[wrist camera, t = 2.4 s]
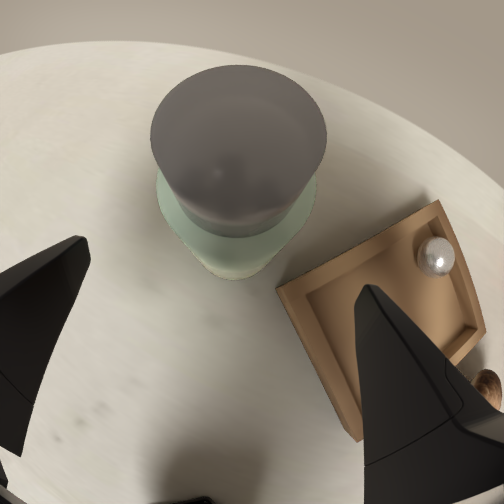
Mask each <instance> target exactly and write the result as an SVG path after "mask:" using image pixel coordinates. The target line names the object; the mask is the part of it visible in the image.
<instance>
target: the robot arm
mask: <svg viewBox="0 0 504 504" xmlns="http://www.w3.org/2000/svg"><path fill="white" fill-rule="evenodd" d="M90 261H91V257H90V252H89V247H88V242H87V239H86V238H85V237H83V236H77V235H75V236H72V237H70V238H68V239H66V240H64V241H62V242H60V243H57V244H55V245H53V246H51V247H49V248H47V249H45V250H43V251H41V252H39V253H37V254H35V255H33V256H31V257H29V258H27V259H26V260H24V261H22V262H20V263H18V264H16V265H14V266H12V267H11V268H9V269H7V270H5V271H3V272H2V273H0V446H1V447H3V448H5V449H6V450H8V451H10V452H12V453H13V454H15V455H17V456H19V457H21V455H22V451H23V446H24V442H25V437H26V433H27V429H28V425H29V421H30V418H31V414H32V411H33V407H34V406H33V405H34V404H35V400H36V397H37V394H38V391H39V388H40V385H41V382H42V379H43V376H44V373H45V371H46V368H47V365H48V363H49V360H50V357H51V355H52V352H53V350H54V347H55V345H56V343H57V340H58V338H59V335H60V333H61V331H62V329H63V326H64V324H65V322H66V320H67V318H68V315H69V313H70V311H71V309H72V307H73V305H74V302H75V300H76V298H77V295H78V293H79V290H80V287H81V285H82V282H83V280H84V277H85V275H86V272H87V270H88V268H89V265H90ZM354 323H355V350H356V359H357V367H358V376H359V386H360V396H361V408H362V422H363V439H364V466H365V467H364V504H504V413H502V412H500V411H498V410H497V409H495V408H494V407H493V406H492V405H491V404H490V403H489V402H488V401H487V400H486V398H485V397H484V396H483V395H482V394H481V393H480V392H479V391H478V390H477V389H476V388H475V387H474V386H473V385H472V384H471V383H470V382H469V381H468V380H467V379H466V378H465V377H464V376H463V375H462V374H461V373H460V371H459V370H458V369H457V368H456V367H455V366H454V365H453V364H452V363H451V361H450V360H449V359H448V358H447V357H445V355H444V354H443V353H442V351H441V350H440V349H439V348H438V347H437V346H436V345H435V344H434V343H433V342H432V341H431V339H430V338H429V337H428V336H427V335H426V334H425V333H424V332H423V331H422V330H421V329H420V328H419V327H418V326H417V325H416V324H415V323H414V321H413V320H412V319H411V318H410V317H409V316H408V315H407V314H406V313H405V312H404V311H403V310H402V309H401V308H400V307H399V306H398V305H397V304H396V303H395V302H394V301H393V300H392V299H391V298H390V297H389V296H388V295H387V294H386V293H385V292H384V291H383V290H382V289H381V288H380V287H379V286H377V285H374V284H365V285H364V286H363V288H362V290H361V292H360V294H359V296H358V297H357V299H356V301H355V304H354ZM7 484H8V479H7V477H6V474H5V472H4V469H3V466H2V464H1V461H0V504H27V503H25V502H24V501H22V500H21V499H19V498H18V497H16V496H15V495H14V494H12V493H11V492H10V491H8V490H7V489H6V488H7ZM204 501H206V502H204ZM172 504H215V503H214V502H213V500H212V499H210V498H209V497H200V498H196V499H192V500H187V501H183V502H178V503H172Z"/></svg>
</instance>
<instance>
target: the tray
mask: <svg viewBox="0 0 504 504" xmlns="http://www.w3.org/2000/svg"><path fill="white" fill-rule="evenodd" d="M434 236H438V237H442V238H444V239H446V240H447V241H448V242H449V243H450V244H451V245H452V247H453V250H454V254H455V261H454V265H453V267H452V269H451V271H450V272H449V273H448V274H447V275H446V276H444V277H442V278H436V279H434V278H430V277H428V276H426V275H425V274H424V273H423V272H422V271H421V270H420V268H419V266H418V262H417V253H418V249H419V247H420V245H421V244H422V243H423V242H424V241H425V240H426V239H428V238H430V237H434ZM365 284H374V285H377V286H379V287H380V288H381V289H382V290H383V291H384V292H385V293H386V294H387V295H388V296H389V297H390V298H391V299H392V300H393V301H394V302H395V303H396V304H397V305H398V306H399V307H400V308H401V309H402V310H403V311H404V312H405V313H406V314H407V315H408V316H409V317H410V318H411V319H412V320H413V321H414V323H415V324H416V325H417V326H418V327H419V328H420V329H421V330H422V331H423V332H424V333H425V334H426V335H427V336H428V337H429V338H430V339H431V341H432V342H433V343H434V344H435V345H436V346H437V347H438V348H439V349H440V350H441V351H442V353H443V354H444V355H445V357H447V358H448V359H449V360H450V361H451V363H452V364H453V365H454V366H456V365H457V364H458V363H459V362H460V361H461V360H462V359H463V358H464V357H465V356H466V354H467V353H468V352H469V351H470V350H471V349H472V348H473V347H474V346H475V345H476V344H477V343H478V341H479V340H480V339H481V338H482V337H483V336H484V335H485V333H486V328H485V324H484V320H483V316H482V312H481V308H480V304H479V301H478V297H477V294H476V291H475V288H474V284H473V281H472V278H471V275H470V272H469V269H468V267H467V264H466V261H465V258H464V256H463V253H462V251H461V248H460V246H459V243H458V241H457V238H456V236H455V234H454V231H453V229H452V227H451V224H450V222H449V220H448V218H447V216H446V214H445V211H444V209H443V207H442V205H441V203H440V201H439V199H438V200H436V201H435V202H433V203H431V204H429V205H427V206H425V207H423V208H421V209H420V210H418V211H416V212H414V213H413V214H411V215H409V216H408V217H406V218H404V219H403V220H401V221H399V222H397V223H396V224H394V225H392V226H391V227H389V228H387V229H385V230H384V231H382V232H380V233H378V234H377V235H375V236H373V237H371V238H369V239H368V240H366V241H364V242H362V243H360V244H359V245H357V246H355V247H353V248H351V249H350V250H348V251H346V252H344V253H342V254H340V255H339V256H337V257H335V258H333V259H331V260H329V261H327V262H326V263H324V264H322V265H320V266H318V267H316V268H314V269H312V270H310V271H309V272H307V273H305V274H303V275H301V276H299V277H297V278H295V279H293V280H291V281H289V282H287V283H285V284H283V285H281V286H279V287H277V288H275V289H276V291H277V293H278V295H279V297H280V299H281V301H282V303H283V305H284V307H285V309H286V311H287V313H288V315H289V317H290V320H291V322H292V324H293V326H294V328H295V330H296V332H297V334H298V336H299V338H300V340H301V342H302V344H303V346H304V348H305V350H306V352H307V354H308V356H309V358H310V360H311V362H312V364H313V366H314V368H315V370H316V372H317V374H318V376H319V378H320V380H321V382H322V385H323V387H324V389H325V391H326V393H327V395H328V397H329V399H330V401H331V403H332V405H333V407H334V409H335V411H336V413H337V415H338V417H339V419H340V421H341V423H342V425H343V427H344V429H345V430H346V431H347V432H348V434H349V435H350V436H351V437H352V438H353V439H354V440H355V441H356V442H357V443H358V442H359V441H361V440H362V439H363V422H362V408H361V396H360V386H359V376H358V367H357V359H356V350H355V323H354V304H355V301H356V299H357V297H358V296H359V294H360V292H361V290H362V288H363V286H364V285H365Z"/></svg>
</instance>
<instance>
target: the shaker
mask: <svg viewBox="0 0 504 504" xmlns="http://www.w3.org/2000/svg"><path fill="white" fill-rule="evenodd" d="M150 141H151V148H152V152H153V155H154V158H155V160H156V162H157V164H158V166H159V169H158V173H157V180H156V192H157V198H158V203H159V206H160V209H161V212H162V214H163V216H164V218H165V220H166V221H167V223H168V224H169V226H170V227H171V229H172V230H173V231H174V232H175V233H176V235H177V236H178V237H179V238H180V239H181V240H182V242H183V243H184V244H185V245H186V246H187V247H188V248H189V250H190V251H191V252H192V253H193V254H194V255H195V256H196V258H197V259H198V260H199V261H200V262H201V263H202V264H203V266H204V267H205V268H206V269H207V270H208V271H210V272H211V273H212V274H214V275H216V276H218V277H220V278H223V279H228V280H241V279H245V278H248V277H251V276H253V275H255V274H256V273H258V272H259V271H260V270H261V269H262V268H263V267H264V266H265V265H266V264H267V263H268V262H269V261H270V260H271V259H272V258H273V257H274V256H275V255H276V254H277V253H278V252H279V251H280V250H281V249H282V248H283V247H284V246H285V245H286V244H287V243H288V242H289V241H290V240H291V239H292V238H293V237H294V236H295V235H296V234H297V233H298V231H299V230H300V229H301V228H302V226H303V225H304V224H305V222H306V221H307V219H308V217H309V215H310V213H311V211H312V208H313V205H314V201H315V197H316V175H315V171H316V170H317V168H318V166H319V164H320V162H321V161H322V158H323V155H324V152H325V148H326V142H327V132H326V126H325V122H324V118H323V115H322V113H321V111H320V109H319V107H318V106H317V104H316V103H315V101H314V100H313V98H312V97H311V96H310V95H309V94H308V93H307V92H306V91H305V90H304V89H303V88H302V87H301V86H300V85H298V84H297V83H295V82H294V81H293V80H291V79H289V78H287V77H286V76H284V75H282V74H279V73H277V72H275V71H272V70H269V69H265V68H261V67H256V66H248V65H228V66H221V67H215V68H211V69H208V70H204V71H202V72H199V73H197V74H195V75H193V76H191V77H189V78H187V79H185V80H184V81H182V82H181V83H179V84H178V85H177V86H176V87H174V88H173V89H172V90H171V91H170V92H169V93H168V94H167V95H166V96H165V98H164V99H163V100H162V102H161V103H160V105H159V107H158V108H157V110H156V112H155V115H154V118H153V120H152V125H151V133H150Z"/></svg>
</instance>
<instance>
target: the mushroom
mask: <svg viewBox="0 0 504 504" xmlns="http://www.w3.org/2000/svg"><path fill="white" fill-rule="evenodd" d="M471 384H472V385H473V386H474V387H475V388H476V389H477V390H478V391H479V392H480V393H481V394H482V395H483V396H484V397H485V398H486V400H487V401H488V402H489V403H490V404H491V405H492V406H493V407H494V408H495V409H497V410H498V411H499V409H500V406H501V400H502V388H501V382H500V379H499V377H498V375H497V374H496V373H495V372H493V371H492V370H488V369H484V370H482V371H480V372H479V373H478V374H477V375H476V376H475V377H474V379H473V380H472V381H471Z"/></svg>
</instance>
